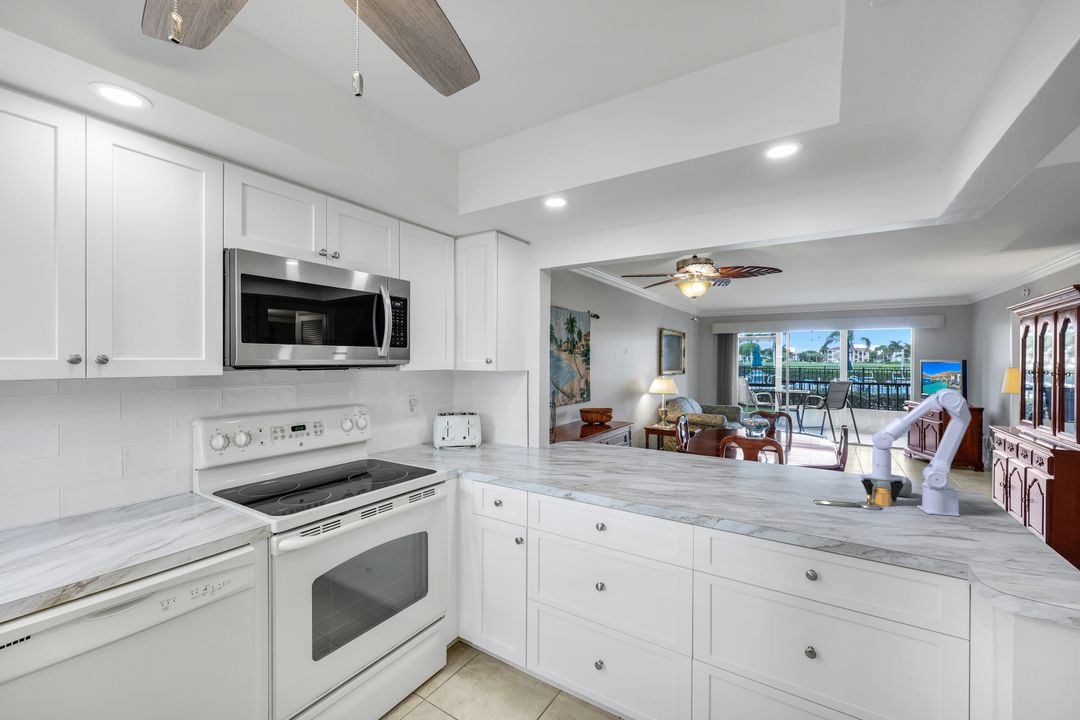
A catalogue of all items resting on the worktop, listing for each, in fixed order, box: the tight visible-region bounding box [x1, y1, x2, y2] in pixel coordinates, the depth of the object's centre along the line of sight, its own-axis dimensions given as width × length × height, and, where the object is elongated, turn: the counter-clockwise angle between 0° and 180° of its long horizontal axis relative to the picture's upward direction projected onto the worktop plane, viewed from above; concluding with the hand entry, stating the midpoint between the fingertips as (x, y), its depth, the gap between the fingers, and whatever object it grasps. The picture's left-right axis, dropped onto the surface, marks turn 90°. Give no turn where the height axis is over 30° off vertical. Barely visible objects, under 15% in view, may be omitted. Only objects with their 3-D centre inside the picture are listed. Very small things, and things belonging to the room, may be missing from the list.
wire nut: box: [872, 487, 892, 507], centre depth 173 cm, size 5×5×6 cm
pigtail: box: [813, 493, 882, 511], centre depth 172 cm, size 21×7×4 cm, turn 75°
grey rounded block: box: [871, 473, 913, 498], centre depth 184 cm, size 14×10×10 cm
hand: (881, 500), depth 173 cm, fingers open, 7 cm apart
